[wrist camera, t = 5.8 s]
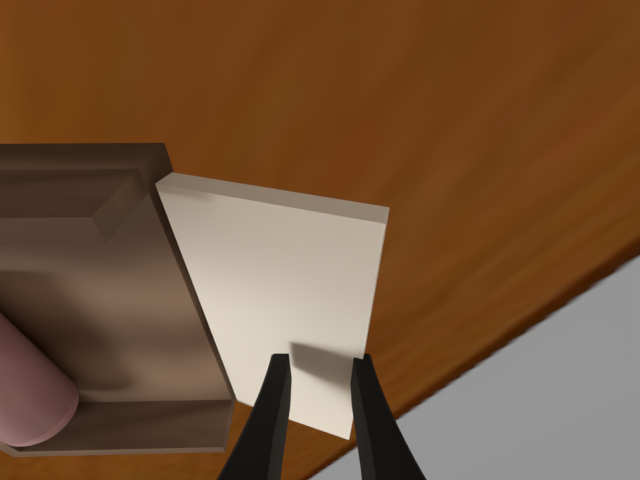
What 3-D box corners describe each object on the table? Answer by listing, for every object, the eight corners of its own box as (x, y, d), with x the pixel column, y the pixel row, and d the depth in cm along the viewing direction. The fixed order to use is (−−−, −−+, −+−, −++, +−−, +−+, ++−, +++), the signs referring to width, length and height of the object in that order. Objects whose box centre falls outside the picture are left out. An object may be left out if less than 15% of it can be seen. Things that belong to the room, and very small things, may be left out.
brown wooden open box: (-184, 144, 10) (-439, 222, 7) (164, 142, 11) (90, 216, 7) (64, 377, 20) (13, 457, 17) (240, 374, 21) (225, 452, 17)
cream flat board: (154, 183, 9) (385, 224, 8) (172, 172, 10) (389, 207, 8) (237, 401, 19) (348, 439, 17) (244, 389, 19) (352, 425, 18)
